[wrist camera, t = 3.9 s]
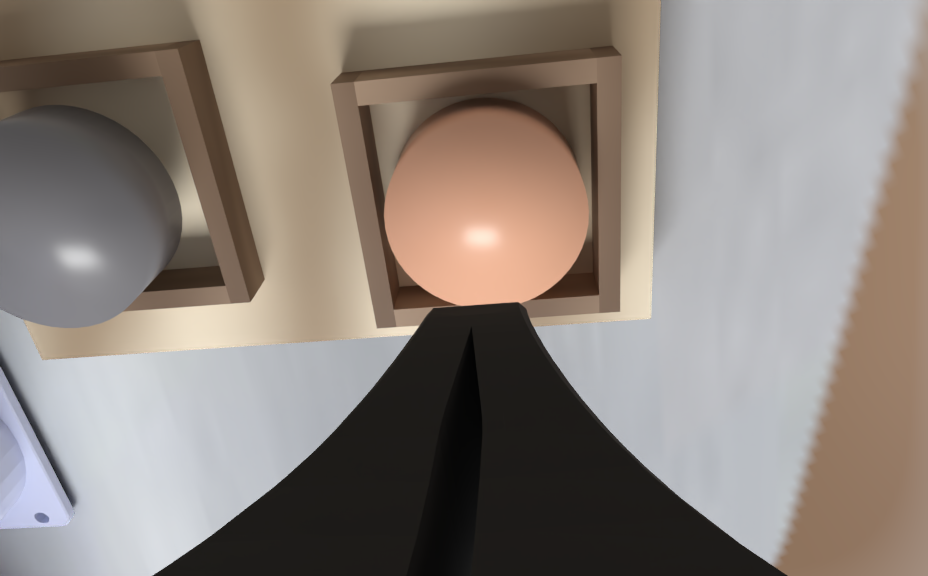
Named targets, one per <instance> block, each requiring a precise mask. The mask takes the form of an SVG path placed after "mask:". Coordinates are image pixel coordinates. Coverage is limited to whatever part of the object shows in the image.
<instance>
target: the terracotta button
mask: <svg viewBox="0 0 928 576" xmlns="http://www.w3.org/2000/svg"><path fill="white" fill-rule="evenodd" d="M384 221H385V230H386V234H387V238H388V241H389V244H390V247H391V249H392V252H393V253H394V255H395V257H396V259H397V261H398V262H399V264H400V265H401V267H402V268H403V269H404V271H405V272H406V273H407V274H408V275H409V276H410V277H411V278H412V279H413V280H414V281H415V282H416V283H417V284H418V285H420V286H421V287H422V288H423V289H425V290H426V291H428V292H429V293H431V294H433V295H434V296H436V297H438V298H440V299H443V300H445V301H447V302H450V303H453V304H456V305H460V306H468V305H482V304H496V303H510V302H519V303H523V302H526V301H528V300H531V299H533V298H535V297H537V296H539V295H541V294H542V293H544V292H545V291H547V290H548V289H550V288H551V287H552V286H554V285H555V284H556V283H557V282H558V281H559V280H560V279H562V277H563V276H564V275H565V274H566V273H567V272H568V271H569V270H570V268H571V267H572V265H573V264H574V262H575V261H576V259H577V257H578V255H579V253H580V251H581V249H582V247H583V244H584V241H585V238H586V234H587V229H588V223H589V206H588V198H587V193H586V189H585V186H584V183H583V180H582V177H581V174H580V171H579V168H578V165H577V162H576V159H575V157H574V154H573V152H572V149H571V147H570V146H569V144H568V142H567V140H566V139H565V137H564V136H563V135H562V133H561V132H560V131H559V130H558V128H557V127H556V126H555V125H554V124H553V123H552V122H551V121H550V120H548V119H547V118H546V117H544V116H543V115H542V114H540V113H539V112H537V111H535V110H533V109H531V108H530V107H528V106H525V105H523V104H520V103H517V102H514V101H510V100H506V99H499V98H475V99H469V100H464V101H461V102H458V103H454V104H452V105H449V106H447V107H445V108H443V109H441V110H439V111H438V112H436V113H435V114H433V115H431V116H430V117H429V118H428V119H426V120H425V121H424V122H423V123H422V124H421V125H420V126H419V127H418V128H417V129H416V130H415V131H414V132H413V134H412V135H411V137H410V138H409V140H408V141H407V142H406V144H405V146H404V148H403V150H402V152H401V155H400V157H399V160H398V162H397V165H396V167H395V170H394V173H393V175H392V178H391V180H390V183H389V186H388V189H387V193H386V199H385V205H384Z"/></svg>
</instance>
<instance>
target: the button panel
mask: <svg viewBox="0 0 928 576" xmlns="http://www.w3.org/2000/svg"><path fill="white" fill-rule="evenodd" d="M660 11H661V0H0V120H2V119H4V118H7V117H9V116H12V115H14V114H17V113H19V112H21V111H24V110H27V109H30V108H33V107H38V106H44V105H67V106H75V107H79V108H83V109H88V110H90V111H93V112H96V113H99V114H101V115H104V116H106V117H108V118H110V119H112V120H114V121H116V122H117V123H119V124H120V125H122V126H124V127H125V128H127V129H128V130H130V131H131V132H132V133H133V134H135V135H136V136H137V137H139V138H140V139H141V140H142V141H143V142H144V143H145V144H146V145H147V146H148V147H149V148H150V149H151V150H152V151H153V153H154V154H155V155H156V156H157V157H158V158H159V160H160V161H161V163H162V164H163V166H164V167H165V169H166V170H167V172H168V174H169V175H170V177H171V179H172V181H173V183H174V186H175V188H176V191H177V194H178V197H179V201H180V205H181V211H182V233H181V238H180V242H179V245H178V248H177V251H176V252H175V254H174V256H173V258H172V260H171V261H170V262H169V263H168V265H167V266H166V267H165V268H164V269H163V270H162V271H161V272H160V273H159V275H158V276H157V277H156V278H155V279H154V280H153V281H152V282H151V283H150V284H149V285H148V286H147V287H146V288H145V289H144V291H143V292H142V293H141V294H140V295H139V296H138V297H137V298H136V299H135V300H134V301H133V302H132V303H131V304H130V305H129V306H128V307H127V308H126V309H125V310H124V311H123V312H122V313H120V314H119V315H117V316H115V317H114V318H112V319H110V320H108V321H105V322H103V323H100V324H97V325H93V326H88V327H81V328H59V327H50V326H45V325H40V324H36V323H33V322H30V321H27V320H24V319H23V320H24V322H25V324H26V326H27V329H28V331H29V333H30V335H31V337H32V339H33V341H34V343H35V345H36V348H37V350H38V352H39V354H40V356H41V358H42V360H48V359H63V358H78V357H93V356H107V355H122V354H137V353H152V352H166V351H181V350H196V349H211V348H225V347H240V346H255V345H270V344H285V343H299V342H314V341H329V340H344V339H358V338H373V337H388V336H403V335H413V334H414V333H415V331H416V330H417V329H418V327H419V326H420V324H421V323H422V321H423V320H424V318H425V317H426V316H427V314H428V313H429V312H430V311H431V310H432V309H433V308H440V307H454V306H460V305H456V304H453V303H450V302H447V301H445V300H443V299H440V298H438V297H436V296H434V295H433V294H431V293H429V292H428V291H426V290H425V289H423V288H422V287H421V286H420V285H418V284H417V283H416V282H415V281H414V280H413V279H412V278H411V277H410V276H409V275H408V274H407V273H406V272H405V271H404V269H403V268H402V267H401V265H400V264H399V262H398V261H397V259H396V257H395V255H394V253H393V252H392V249H391V247H390V244H389V241H388V238H387V234H386V230H385V221H384V205H385V199H386V193H387V189H388V186H389V183H390V180H391V178H392V175H393V173H394V170H395V167H396V165H397V162H398V160H399V157H400V155H401V152H402V150H403V148H404V146H405V144H406V142H407V141H408V140H409V138H410V137H411V135H412V134H413V132H414V131H415V130H416V129H417V128H418V127H419V126H420V125H421V124H422V123H423V122H424V121H425V120H426V119H428V118H429V117H430V116H431V115H433V114H435V113H436V112H438V111H439V110H441V109H443V108H445V107H447V106H449V105H452V104H454V103H458V102H461V101H464V100H469V99H475V98H499V99H506V100H510V101H514V102H517V103H520V104H523V105H525V106H528V107H530V108H531V109H533V110H535V111H537V112H539V113H540V114H542V115H543V116H544V117H546V118H547V119H548V120H550V121H551V122H552V123H553V124H554V125H555V126H556V127H557V128H558V130H559V131H560V132H561V133H562V135H563V136H564V137H565V139H566V140H567V142H568V144H569V146H570V147H571V149H572V152H573V154H574V157H575V159H576V162H577V165H578V168H579V171H580V174H581V177H582V180H583V183H584V186H585V189H586V193H587V198H588V206H589V223H588V229H587V234H586V238H585V241H584V244H583V247H582V249H581V251H580V253H579V255H578V257H577V259H576V261H575V262H574V264H573V265H572V267H571V268H570V270H569V271H568V272H567V273H566V274H565V275H564V276H563V277H562V279H560V280H559V281H558V282H557V283H556V284H555V285H554V286H552V287H551V288H550V289H548V290H547V291H545V292H544V293H542V294H541V295H539V296H537V297H535V298H533V299H531V300H528V301H526V302H523V303H520V304H521V305H523V306H524V307H525V308H526V309H527V313H528V316H529V318H530V321H531V323H532V325H533V327H536V326H550V325H565V324H580V323H595V322H609V321H624V320H639V319H651V300H652V268H653V236H654V204H655V172H656V140H657V108H658V75H659V43H660Z"/></svg>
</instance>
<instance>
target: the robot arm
mask: <svg viewBox="0 0 928 576" xmlns="http://www.w3.org/2000/svg"><path fill="white" fill-rule="evenodd" d="M73 516H74V509H73V507H72V505H71V503H70V501H69V499H68V497H67V496H66V494H65V492H64V490H63V488H62V486H61V484H60V482H59V480H58V478H57V476H56V474H55V472H54V470H53V468H52V466H51V464H50V462H49V460H48V458H47V456H46V455H45V453H44V451H43V449H42V447H41V445H40V443H39V441H38V439H37V437H36V435H35V433H34V431H33V429H32V427H31V425H30V423H29V421H28V419H27V417H26V416H25V414H24V412H23V410H22V408H21V406H20V404H19V402H18V400H17V398H16V396H15V394H14V392H13V390H12V388H11V386H10V384H9V382H8V380H7V378H6V377H5V375H4V373H3V371H2V369H1V367H0V529H11V528H33V527H54V526H64V525H67V524H68V523H69V522H70V520H71V519H72V518H73ZM153 576H787V575H785V574H784V573H782V572H781V571H779V570H778V569H777V568H775V567H774V566H772V565H771V564H769V563H768V562H766V561H765V560H763V559H762V558H760V557H759V556H757V555H756V554H754V553H753V552H751V551H750V550H748V549H747V548H745V547H744V546H742V545H741V544H740V543H738V542H737V541H736V540H734V539H733V538H732V537H730V536H729V535H728V534H727V533H725V532H724V531H723V530H721V529H720V528H719V527H717V526H716V525H715V524H714V523H712V522H711V521H710V520H708V519H707V518H706V517H704V516H703V515H702V514H701V513H699V512H698V511H697V510H695V509H694V508H693V507H692V506H690V505H689V504H688V503H686V502H685V501H684V500H682V499H681V498H680V497H679V496H678V495H676V494H675V493H674V492H673V491H672V490H671V489H670V488H668V487H667V486H666V485H665V484H664V483H663V482H662V481H661V480H659V479H658V478H657V477H656V476H655V475H654V474H653V473H652V472H651V471H649V470H648V469H647V468H646V467H645V466H644V465H643V464H642V463H641V462H640V461H639V460H638V459H637V458H636V457H635V456H634V455H633V454H632V453H631V452H630V451H629V450H627V449H626V448H625V447H624V446H623V445H622V444H621V443H620V441H619V440H618V439H617V438H616V437H615V436H614V435H613V434H612V433H611V432H610V431H609V430H608V429H607V428H606V427H605V425H604V424H603V423H602V422H601V421H600V420H599V419H598V418H597V416H596V415H595V414H594V413H593V412H592V410H591V409H590V408H589V407H588V406H587V405H586V403H585V402H584V401H583V400H582V399H581V397H580V396H579V395H578V393H577V392H576V391H575V390H574V388H573V387H572V386H571V385H570V383H569V382H568V380H567V379H566V378H565V376H564V375H563V373H562V372H561V371H560V369H559V368H558V366H557V365H556V364H555V362H554V361H553V359H552V358H551V356H550V355H549V353H548V352H547V350H546V348H545V347H544V345H543V343H542V342H541V340H540V338H539V337H538V335H537V333H536V331H535V329H534V327H533V325H532V323H531V321H530V318H529V316H528V313H527V309H526V308H525V307H524V306H523V305H521V304H520V303H519V302H510V303H496V304H482V305H468V306H454V307H440V308H433V309H432V310H431V311H430V312H429V313H428V314H427V316H426V317H425V318H424V320H423V321H422V323H421V324H420V326H419V327H418V329H417V330H416V331H415V333H414V334H413V336H412V337H411V339H410V340H409V341H408V343H407V344H406V345H405V347H404V348H403V350H402V351H401V352H400V354H399V355H398V356H397V358H396V359H395V360H394V362H393V363H392V364H391V365H390V367H389V368H388V369H387V370H386V372H385V373H384V374H383V376H382V377H381V378H380V379H379V381H378V382H377V383H376V384H375V386H374V387H373V388H372V389H371V391H370V392H369V393H368V394H367V395H366V396H365V398H364V399H363V400H362V401H361V402H360V403H359V404H358V405H357V407H356V408H355V409H354V410H353V411H352V412H351V413H350V414H349V415H348V417H347V418H346V419H345V420H344V421H343V422H342V423H341V424H340V425H339V427H338V428H337V429H336V430H335V431H334V432H333V433H332V434H331V435H330V436H329V437H328V438H327V439H326V440H325V441H324V442H323V443H322V444H321V445H320V446H319V447H318V448H317V449H316V450H315V451H314V452H313V453H312V454H311V455H310V456H309V457H308V458H306V459H305V460H304V461H303V462H302V463H301V464H300V465H299V466H298V467H297V468H295V469H294V470H293V471H292V472H291V473H290V474H289V475H288V476H287V477H285V478H284V479H283V480H282V481H281V482H279V483H278V484H277V485H276V486H275V487H274V488H272V489H271V490H270V491H268V492H267V493H266V494H265V495H263V496H262V497H261V498H259V499H258V500H257V501H256V502H254V503H253V504H252V505H250V506H249V507H248V508H247V509H245V510H244V511H243V512H241V513H240V514H239V515H237V516H236V517H235V518H234V519H232V520H231V521H230V522H228V523H227V524H226V525H225V526H223V527H222V528H221V529H219V530H218V531H217V532H216V533H214V534H213V535H212V536H210V537H209V538H207V539H206V540H205V541H203V542H202V543H200V544H199V545H197V546H196V547H195V548H193V549H192V550H190V551H189V552H187V553H186V554H184V555H183V556H181V557H180V558H178V559H177V560H176V561H174V562H173V563H171V564H170V565H168V566H167V567H165V568H164V569H162V570H161V571H159V572H158V573H156V574H154V575H153Z"/></svg>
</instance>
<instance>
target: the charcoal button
mask: <svg viewBox="0 0 928 576" xmlns="http://www.w3.org/2000/svg"><path fill="white" fill-rule="evenodd" d="M181 233H182V211H181V205H180V201H179V197H178V194H177V191H176V188H175V186H174V183H173V181H172V179H171V177H170V175H169V174H168V172H167V170H166V169H165V167H164V166H163V164H162V163H161V161H160V160H159V158H158V157H157V156H156V155H155V154H154V153H153V151H152V150H151V149H150V148H149V147H148V146H147V145H146V144H145V143H144V142H143V141H142V140H141V139H140V138H139V137H137V136H136V135H135V134H133V133H132V132H131V131H130V130H128V129H127V128H125V127H124V126H122V125H120V124H119V123H117V122H116V121H114V120H112V119H110V118H108V117H106V116H104V115H101V114H99V113H96V112H93V111H90V110H88V109H83V108H79V107H75V106H67V105H44V106H38V107H33V108H30V109H27V110H24V111H21V112H19V113H17V114H14V115H12V116H9V117H7V118H4V119H2V120H0V309H2V310H4V311H6V312H8V313H10V314H12V315H14V316H16V317H19V318H21V319H24V320H27V321H30V322H33V323H36V324H40V325H45V326H50V327H59V328H81V327H88V326H93V325H97V324H100V323H103V322H105V321H108V320H110V319H112V318H114V317H115V316H117V315H119V314H120V313H122V312H123V311H124V310H125V309H126V308H127V307H128V306H129V305H130V304H131V303H132V302H133V301H134V300H135V299H136V298H137V297H138V296H139V295H140V294H141V293H142V292H143V291H144V289H145V288H146V287H147V286H148V285H149V284H150V283H151V282H152V281H153V280H154V279H155V278H156V277H157V276H158V275H159V273H160V272H161V271H162V270H163V269H164V268H165V267H166V266H167V265H168V263H169V262H170V261H171V260H172V258H173V256H174V254H175V252H176V251H177V248H178V245H179V242H180V238H181Z"/></svg>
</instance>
